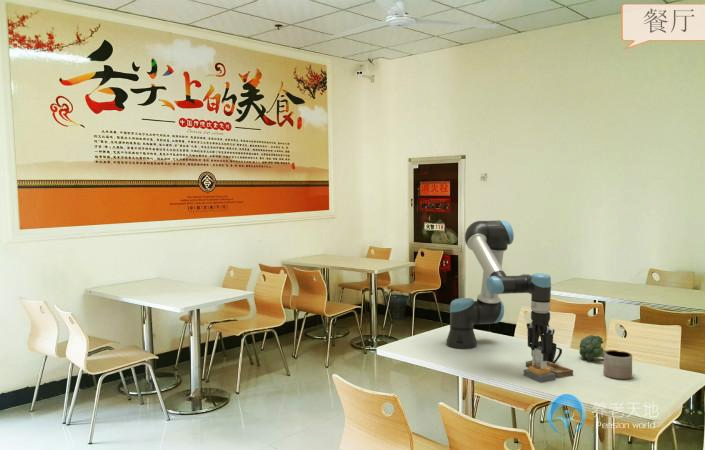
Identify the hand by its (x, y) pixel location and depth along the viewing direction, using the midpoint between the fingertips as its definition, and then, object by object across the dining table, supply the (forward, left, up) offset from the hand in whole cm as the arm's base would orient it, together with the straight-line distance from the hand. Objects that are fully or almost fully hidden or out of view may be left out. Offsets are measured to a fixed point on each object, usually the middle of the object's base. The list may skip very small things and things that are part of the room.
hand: (539, 366), depth 229 cm
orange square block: (0, 0, -4) cm, 4 cm away
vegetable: (-7, +42, -5) cm, 43 cm away
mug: (-12, +18, -5) cm, 22 cm away
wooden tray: (-5, +10, -5) cm, 12 cm away
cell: (0, 0, 0) cm, 0 cm away
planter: (+13, +31, -5) cm, 34 cm away
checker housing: (0, 0, -5) cm, 5 cm away
